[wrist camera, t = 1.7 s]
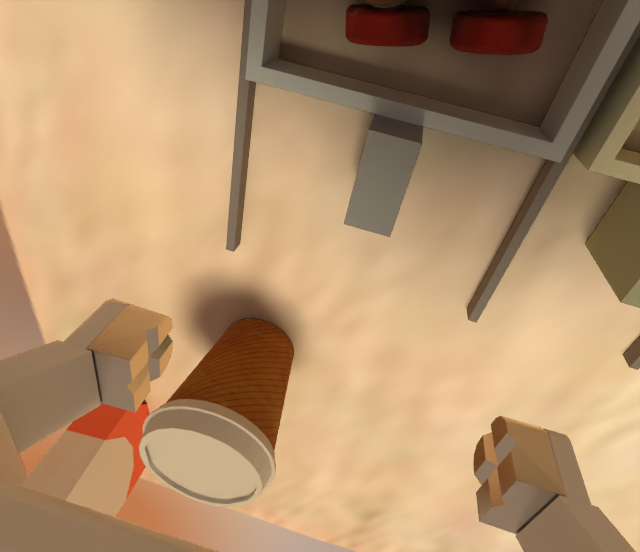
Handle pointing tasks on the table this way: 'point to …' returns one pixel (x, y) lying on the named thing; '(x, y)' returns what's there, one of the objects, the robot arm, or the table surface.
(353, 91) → the grey open rectangular tray
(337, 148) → the table surface
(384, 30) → the toy fire truck
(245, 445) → the disposable coffee cup
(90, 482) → the french fries container
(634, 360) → the lane rails
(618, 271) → the cube lane
